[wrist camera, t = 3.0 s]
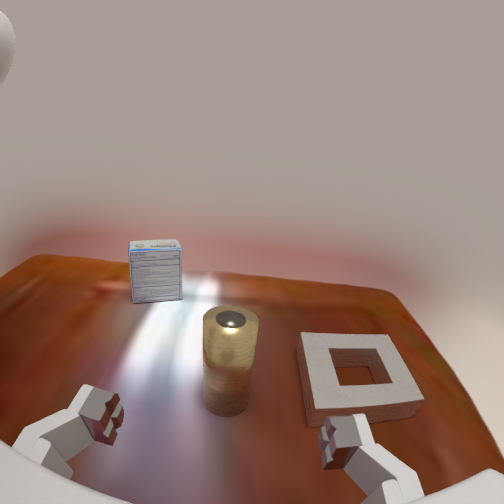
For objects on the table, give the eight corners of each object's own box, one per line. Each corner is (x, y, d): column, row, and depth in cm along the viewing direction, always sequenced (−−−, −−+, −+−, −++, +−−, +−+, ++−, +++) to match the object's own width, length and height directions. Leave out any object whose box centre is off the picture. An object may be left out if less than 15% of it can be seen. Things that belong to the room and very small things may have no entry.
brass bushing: (200, 413, 24) (198, 331, 20) (206, 382, 28) (207, 302, 24) (246, 418, 24) (258, 338, 20) (248, 387, 28) (258, 307, 24)
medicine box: (177, 287, 47) (178, 238, 44) (182, 300, 43) (182, 247, 40) (131, 290, 44) (128, 240, 41) (132, 304, 40) (128, 250, 37)
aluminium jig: (307, 426, 23) (315, 408, 22) (296, 351, 34) (300, 332, 33) (412, 416, 23) (424, 398, 22) (380, 352, 34) (387, 334, 33)
